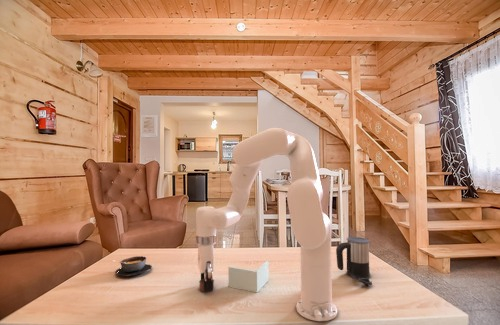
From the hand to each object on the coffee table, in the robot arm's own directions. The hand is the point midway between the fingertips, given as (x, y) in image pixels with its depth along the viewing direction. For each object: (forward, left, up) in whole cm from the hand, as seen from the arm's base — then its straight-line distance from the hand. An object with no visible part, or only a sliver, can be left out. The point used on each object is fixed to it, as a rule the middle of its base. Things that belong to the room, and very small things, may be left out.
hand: (206, 285), depth 100 cm
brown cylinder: (0, 0, -1) cm, 1 cm away
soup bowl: (+16, +36, -1) cm, 39 cm away
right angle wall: (+5, -16, -1) cm, 17 cm away
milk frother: (+9, -61, -1) cm, 62 cm away
